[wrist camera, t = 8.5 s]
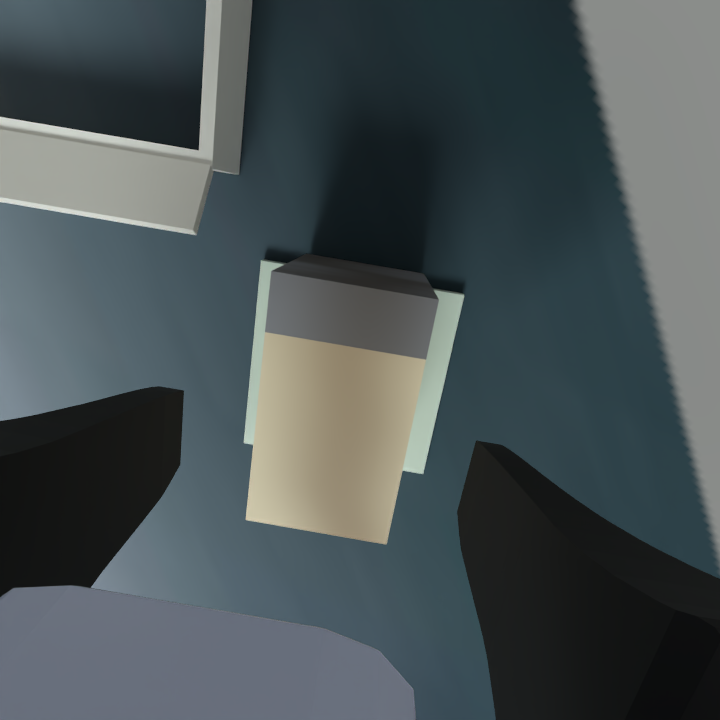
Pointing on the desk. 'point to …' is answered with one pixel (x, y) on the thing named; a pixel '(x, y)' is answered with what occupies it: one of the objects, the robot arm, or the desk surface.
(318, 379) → the block
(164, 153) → the white flat frame
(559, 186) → the desk surface
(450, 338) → the pad
